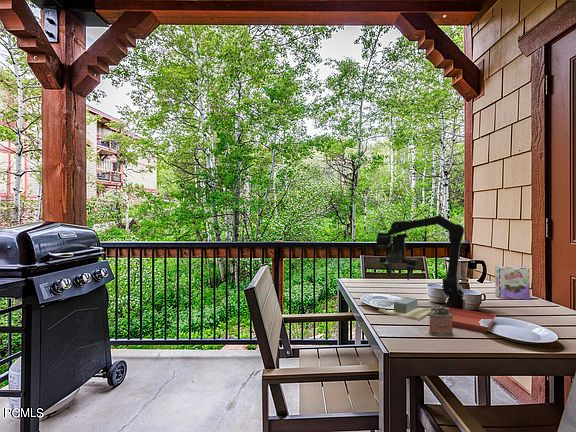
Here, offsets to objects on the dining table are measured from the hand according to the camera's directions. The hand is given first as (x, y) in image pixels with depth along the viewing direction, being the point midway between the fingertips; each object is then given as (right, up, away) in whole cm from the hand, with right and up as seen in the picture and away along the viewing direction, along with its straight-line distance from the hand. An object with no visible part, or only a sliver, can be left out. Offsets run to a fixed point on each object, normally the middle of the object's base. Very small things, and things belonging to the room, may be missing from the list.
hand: (399, 278), depth 150 cm
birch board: (-1, -13, -12) cm, 17 cm away
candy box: (+64, -13, +12) cm, 67 cm away
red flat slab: (+17, -13, -27) cm, 35 cm away
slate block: (+4, -10, -7) cm, 12 cm away
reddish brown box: (+1, -13, -39) cm, 41 cm away
